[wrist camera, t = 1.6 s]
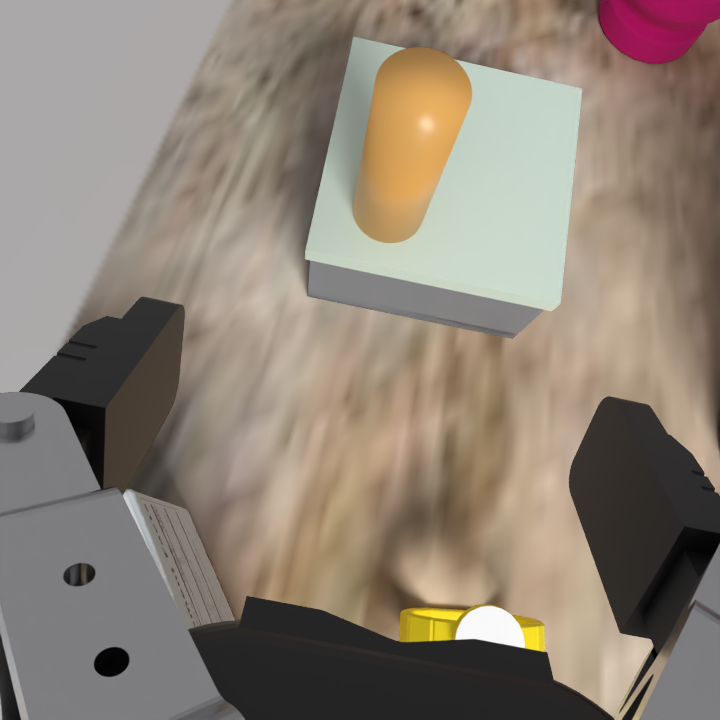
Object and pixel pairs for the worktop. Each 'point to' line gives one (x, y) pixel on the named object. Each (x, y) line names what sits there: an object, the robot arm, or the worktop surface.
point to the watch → (471, 626)
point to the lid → (448, 175)
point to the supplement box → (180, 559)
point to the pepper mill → (656, 26)
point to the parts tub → (418, 300)
